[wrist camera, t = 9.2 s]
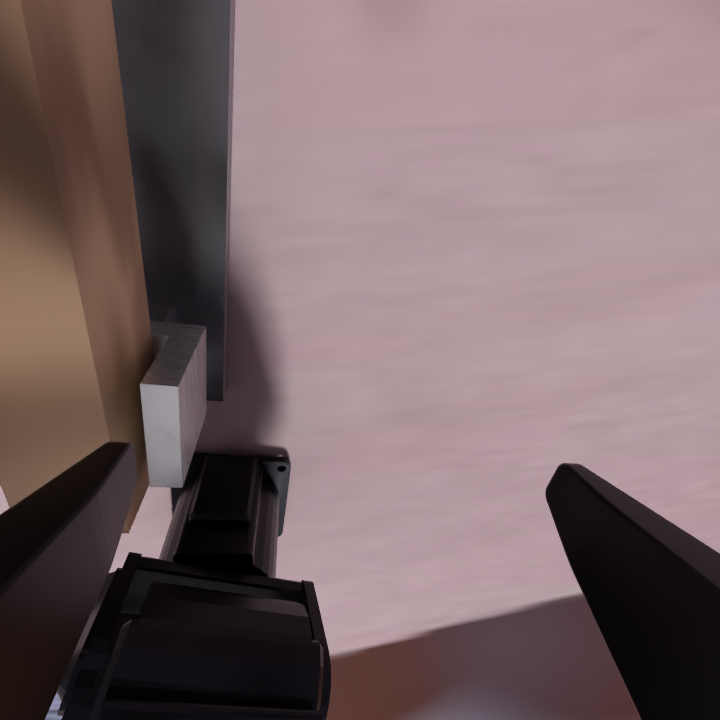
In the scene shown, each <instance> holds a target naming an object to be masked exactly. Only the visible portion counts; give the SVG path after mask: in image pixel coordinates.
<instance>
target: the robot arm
mask: <svg viewBox="0 0 720 720" xmlns="http://www.w3.org/2000/svg"><path fill="white" fill-rule="evenodd" d="M281 465H283V466H284V467H279V466H281ZM290 469H291V463H290V461H289V459H287V458H284V457H265V456H243V455H220V454H198V453H194V454H193V457H192V460H191V463H190V466H189V469H188V472H187V475H186V478H185V481H184V484H183V487H182V488H174V487H171V488H172V505H173V517H172V520H171V523H170V526H169V529H168V532H167V536H166V539H165V542H164V545H163V548H162V551H161V554H160V557H159V559H155V558H149V557H143V556H141V555H142V554H138V553H132V552H129V554H128V556H127V559H126V561H125V563H124V566H123V568H117V570H116V571H115V572H112V573H109V570H110V568H111V565H112V562H113V559H114V556H115V553H116V550H117V546H118V543H119V540H120V537H121V534H122V530H123V527H124V524H125V521H126V517H127V514H128V511H129V508H130V504H131V501H132V498H133V495H134V492H135V488H136V484H137V467H136V458H135V449H134V446H133V444H131V443H129V442H107V443H105V444H103V445H102V446H100V447H99V448H98V449H96V450H95V451H93V452H92V453H90V454H89V455H87V456H86V457H84V458H83V459H81V460H80V461H78V462H77V463H75V464H74V465H73V466H71V467H70V468H68V469H67V470H65V471H64V472H62V473H61V474H59V475H58V476H56V477H55V478H53V479H52V480H50V481H49V482H48V483H46V484H45V485H43V486H42V487H40V488H39V489H37V490H36V491H34V492H33V493H31V494H30V495H28V496H27V497H25V498H24V499H23V500H21V501H20V502H18V503H17V504H15V505H14V506H12V507H11V508H9V509H8V510H6V511H5V512H3V513H2V514H0V720H45V717H46V715H47V713H48V711H49V708H50V706H51V704H52V701H53V699H54V697H55V695H56V692H58V694H59V696H60V699H61V701H62V702H61V705H60V708H59V711H58V716H63V717H62V720H326V717H327V711H328V706H329V698H330V689H331V664H330V656H329V650H328V645H327V641H326V637H325V632H324V628H323V623H322V619H321V615H320V610H319V606H318V601H317V597H316V593H315V588H314V584H313V582H310V581H304V580H302V581H301V582H297V581H291V580H285V579H279V578H275V575H276V557H277V539H278V536H280V535H281V534H282V532H283V524H284V516H285V508H286V500H287V493H288V485H289V477H290ZM546 500H547V503H548V505H549V508H550V511H551V514H552V517H553V519H554V522H555V525H556V528H557V531H558V533H559V536H560V539H561V542H562V545H563V547H564V550H565V553H566V556H567V558H568V561H569V563H570V566H571V568H572V570H573V573H574V575H575V577H576V579H577V581H578V584H579V586H580V588H581V590H582V592H583V594H584V597H585V599H586V601H587V603H588V605H589V607H590V609H591V612H592V614H593V616H594V618H595V620H596V623H597V624H598V627H599V629H600V631H601V633H602V635H603V638H604V640H605V642H606V644H607V646H608V648H609V651H610V653H611V655H612V657H613V659H614V661H615V664H616V666H617V668H618V670H619V672H620V675H621V677H622V679H623V681H624V683H625V685H626V688H627V690H628V692H629V694H630V696H631V698H632V701H633V703H634V705H635V707H636V709H637V711H638V714H639V716H640V718H641V720H720V553H718V552H716V551H715V550H713V549H712V548H710V547H709V546H707V545H705V544H704V543H702V542H701V541H699V540H698V539H696V538H695V537H693V536H691V535H690V534H688V533H687V532H685V531H684V530H682V529H680V528H679V527H677V526H676V525H674V524H673V523H671V522H670V521H668V520H666V519H665V518H663V517H662V516H660V515H659V514H657V513H655V512H654V511H652V510H651V509H649V508H648V507H646V506H645V505H643V504H641V503H640V502H638V501H637V500H635V499H634V498H632V497H631V496H629V495H627V494H626V493H624V492H623V491H621V490H620V489H618V488H616V487H615V486H613V485H612V484H610V483H609V482H607V481H606V480H604V479H602V478H601V477H599V476H598V475H596V474H595V473H593V472H591V471H590V470H588V469H587V468H585V467H584V466H582V465H580V464H572V463H563V464H561V465H559V466H558V468H557V469H556V471H555V473H554V475H553V477H552V479H551V480H550V482H549V484H548V486H547V488H546ZM108 573H109V574H108Z"/></svg>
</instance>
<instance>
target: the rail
mask: <svg viewBox="0 0 720 720" xmlns="http://www.w3.org/2000/svg"><path fill="white" fill-rule="evenodd" d="M154 360H155V359H154V351H153V343H152V334H151V326H150V318H149V309H148V301H147V293H146V285H145V276H144V268H143V260H142V251H141V243H140V235H139V226H138V218H137V210H136V201H135V193H134V185H133V176H132V168H131V160H130V152H129V143H128V135H127V127H126V118H125V110H124V102H123V93H122V85H121V77H120V68H119V60H118V52H117V43H116V35H115V27H114V19H113V10H112V2H111V0H0V484H1V487H2V489H3V492H4V494H5V497H6V499H7V502H8V504H9V507H10V508H11V507H12V506H14V505H15V504H17V503H18V502H20V501H21V500H23V499H24V498H25V497H27V496H28V495H30V494H31V493H33V492H34V491H36V490H37V489H39V488H40V487H42V486H43V485H45V484H46V483H48V482H49V481H50V480H52V479H53V478H55V477H56V476H58V475H59V474H61V473H62V472H64V471H65V470H67V469H68V468H70V467H71V466H73V465H74V464H75V463H77V462H78V461H80V460H81V459H83V458H84V457H86V456H87V455H89V454H90V453H92V452H93V451H95V450H96V449H98V448H99V447H100V446H102V445H103V444H105V443H107V442H129V443H131V444H133V446H134V449H135V458H136V467H137V484H136V488H135V492H134V495H133V498H132V501H131V504H130V508H129V511H128V514H127V517H126V521H125V524H124V527H123V530H122V533H129V531H130V529H131V526H132V524H133V522H134V519H135V517H136V514H137V512H138V510H139V507H140V505H141V502H142V500H143V498H144V495H145V493H146V491H147V488H148V486H149V474H148V464H147V453H146V443H145V433H144V422H143V412H142V402H141V391H140V383H141V381H142V380H143V378H144V376H145V375H146V373H147V371H148V370H149V368H150V367H151V365H152V363H153V362H154Z"/></svg>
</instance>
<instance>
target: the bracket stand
mask: <svg viewBox="0 0 720 720" xmlns="http://www.w3.org/2000/svg"><path fill="white" fill-rule="evenodd" d="M111 2H112V10H113V19H114V27H115V35H116V43H117V52H118V60H119V68H120V77H121V85H122V93H123V102H124V110H125V118H126V127H127V135H128V143H129V152H130V160H131V168H132V176H133V185H134V193H135V201H136V210H137V218H138V226H139V235H140V243H141V251H142V260H143V268H144V276H145V285H146V293H147V301H148V309H149V318H150V326H151V334H152V343H153V351H154V359H155V360H154V362H153V363H152V365H151V367H150V368H149V370H148V371H147V373H146V375H145V376H144V378H143V380H142V381H141V383H140V391H141V402H142V412H143V422H144V433H145V443H146V453H147V464H148V474H149V485H150V487H174V488H182V487H183V484H184V481H185V478H186V475H187V472H188V469H189V466H190V463H191V460H192V457H193V454H194V450H195V447H196V444H197V441H198V438H199V435H200V432H201V429H202V426H203V423H204V420H205V417H206V400H213V401H223V399H224V395H225V392H226V367H227V324H228V281H229V239H230V196H231V153H232V111H233V68H234V25H235V0H111Z"/></svg>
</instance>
